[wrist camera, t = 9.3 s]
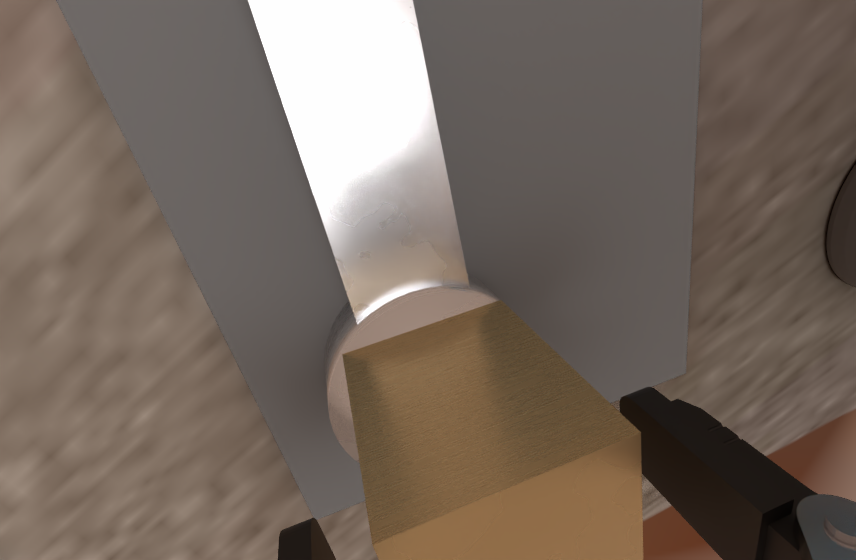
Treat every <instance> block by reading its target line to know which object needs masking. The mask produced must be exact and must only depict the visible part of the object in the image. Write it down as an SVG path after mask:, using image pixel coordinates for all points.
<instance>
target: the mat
mask: <svg viewBox="0 0 856 560" xmlns="http://www.w3.org/2000/svg"><path fill="white" fill-rule="evenodd" d="M56 1H57V3H58V5H59V7H60V9H61V11H62V13H63V15H64V17H65V19H66V21H67V23H68V25H69V27H70V29H71V31H72V33H73V35H74V37H75V39H76V41H77V43H78V45H79V47H80V49H81V51H82V53H83V55H84V57H85V59H86V61H87V63H88V65H89V67H90V69H91V71H92V73H93V75H94V77H95V79H96V81H97V83H98V85H99V87H100V89H101V91H102V93H103V95H104V97H105V99H106V101H107V103H108V105H109V107H110V109H111V111H112V113H113V115H114V117H115V119H116V121H117V123H118V125H119V127H120V129H121V131H122V133H123V135H124V137H125V139H126V141H127V143H128V145H129V147H130V149H131V151H132V153H133V155H134V157H135V160H136V162H137V164H138V166H139V168H140V170H141V172H142V174H143V176H144V178H145V180H146V182H147V184H148V186H149V188H150V190H151V192H152V194H153V196H154V198H155V200H156V202H157V204H158V206H159V208H160V210H161V212H162V214H163V216H164V218H165V220H166V222H167V224H168V226H169V228H170V230H171V232H172V234H173V236H174V238H175V240H176V242H177V244H178V246H179V248H180V250H181V252H182V254H183V256H184V258H185V260H186V262H187V264H188V266H189V268H190V270H191V272H192V274H193V276H194V278H195V280H196V282H197V284H198V286H199V288H200V290H201V292H202V294H203V296H204V298H205V300H206V302H207V304H208V306H209V308H210V310H211V312H212V314H213V316H214V318H215V320H216V322H217V324H218V326H219V328H220V330H221V332H222V334H223V336H224V338H225V340H226V342H227V344H228V346H229V348H230V350H231V352H232V354H233V356H234V358H235V360H236V362H237V364H238V366H239V368H240V370H241V372H242V374H243V376H244V379H245V381H246V383H247V385H248V387H249V389H250V391H251V393H252V395H253V397H254V399H255V401H256V403H257V405H258V407H259V409H260V411H261V413H262V415H263V417H264V419H265V421H266V423H267V425H268V427H269V429H270V431H271V433H272V435H273V437H274V439H275V441H276V443H277V445H278V447H279V449H280V451H281V453H282V455H283V457H284V459H285V461H286V463H287V465H288V467H289V469H290V471H291V473H292V475H293V477H294V479H295V481H296V483H297V485H298V487H299V489H300V491H301V493H302V495H303V497H304V499H305V501H306V503H307V505H308V507H309V509H310V511H311V513H312V515H313V517H314V518H315V519H316V520H318V519H320V518H323V517H325V516H328V515H330V514H333V513H335V512H338V511H340V510H343V509H345V508H348V507H350V506H353V505H355V504H358V503H360V502H363V501H365V494H364V488H363V481H362V475H361V469H360V463H359V462H357V461H356V460H354V459H353V458H352V457H351V456H350V455H349V454H348V453H347V452H346V451H345V450H344V448H343V447H342V446H341V444H340V443H339V441H338V439H337V438H336V436H335V434H334V432H333V429H332V425H331V422H330V417H329V410H328V400H327V388H326V375H325V348H326V342H327V339H328V336H329V333H330V329H331V327H332V325H333V323H334V321H335V319H336V317H337V316H338V314H339V313H340V311H341V310H342V308H343V307H344V306H345V305H346V304H347V302H348V301H349V299H348V296H347V293H346V290H345V287H344V284H343V281H342V278H341V275H340V272H339V269H338V266H337V263H336V260H335V257H334V254H333V251H332V248H331V245H330V242H329V239H328V236H327V233H326V230H325V227H324V224H323V221H322V218H321V215H320V212H319V209H318V206H317V204H316V201H315V198H314V195H313V192H312V189H311V186H310V183H309V180H308V177H307V174H306V171H305V168H304V165H303V162H302V159H301V156H300V153H299V150H298V147H297V144H296V141H295V138H294V135H293V132H292V129H291V126H290V123H289V120H288V117H287V114H286V111H285V108H284V106H283V103H282V100H281V97H280V94H279V91H278V88H277V85H276V82H275V79H274V76H273V73H272V70H271V67H270V64H269V61H268V58H267V55H266V52H265V49H264V46H263V43H262V40H261V37H260V34H259V31H258V28H257V25H256V22H255V19H254V16H253V13H252V10H251V8H250V5H249V2H248V0H56ZM413 4H414V9H415V14H416V19H417V24H418V29H419V34H420V39H421V44H422V49H423V54H424V59H425V64H426V69H427V74H428V79H429V84H430V89H431V94H432V99H433V104H434V109H435V115H436V120H437V125H438V130H439V135H440V140H441V145H442V150H443V155H444V160H445V165H446V170H447V175H448V180H449V185H450V190H451V195H452V200H453V205H454V210H455V215H456V220H457V225H458V230H459V235H460V241H461V246H462V251H463V256H464V261H465V266H466V271H467V273H468V274H470V275H472V276H473V277H475V278H476V279H478V280H479V281H481V282H482V283H483V284H484V285H485V286H486V287H487V288H489V289H490V290H491V291H492V292H493V293H494V294H495V295H496V296H497V297H498V298H499V299H500V300H502V301H503V302H504V303H505V304H506V305H507V306H508V307H509V308H510V309H511V310H512V311H513V312H514V313H515V314H516V315H517V316H519V317H520V318H521V319H522V320H523V321H524V322H525V323H526V324H527V325H528V326H529V327H530V328H531V329H532V330H533V331H534V332H535V333H536V334H538V335H539V336H540V337H541V338H542V339H543V340H544V341H545V342H546V343H547V344H548V345H549V346H550V347H551V348H552V349H553V350H554V351H555V352H557V353H558V354H559V355H560V356H561V357H562V358H563V359H564V360H565V361H566V362H567V363H568V364H569V365H570V366H571V367H572V368H573V369H574V370H576V371H577V372H578V373H579V374H580V375H581V376H582V377H583V378H584V379H585V380H586V381H587V382H588V383H589V384H590V385H591V386H592V387H593V388H595V389H596V390H597V391H598V392H599V393H600V394H601V395H602V396H603V397H604V398H605V399H606V400H607V401H608V402H609V403H612V402H615V401H617V400H620V399H621V397H623V396H625V395H628V394H630V393H633V392H635V391H638V390H640V389H643V388H646V387H653V386H655V385H658V384H660V383H663V382H665V381H668V380H670V379H673V378H675V377H678V376H680V375H683V374H685V373H686V361H687V338H688V316H689V294H690V271H691V249H692V227H693V204H694V182H695V160H696V137H697V115H698V93H699V71H700V48H701V26H702V4H703V0H413Z"/></svg>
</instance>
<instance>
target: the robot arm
mask: <svg viewBox="0 0 856 560" xmlns="http://www.w3.org/2000/svg"><path fill="white" fill-rule="evenodd" d="M620 413H621V414H622V415H623V416H624V417H625V418H626V419H627V420H628V421H629V422H630V423H631V424H633V425H634V426H635V427H636V428H637V429H638V430H639V431H640V432H641V466H642V474H643V475H644V476H645V477H646V478H647V479H648V480H649V481H650V482H651V484H652V485H653V486H654V487H655V488H656V489H657V490H658V491H659V492H660V493H661V494H662V495H663V496H664V497H665V498H666V500H667V501H668V502H669V503H670V504H671V505H672V506H673V507H674V508H675V509H676V510H677V511H678V512H679V513H680V514H681V515H682V517H683V518H684V519H685V520H686V521H687V522H688V523H689V524H690V525H691V526H692V527H693V528H694V529H695V530H696V531H697V533H698V534H699V535H700V536H701V537H702V538H703V539H704V540H705V541H706V542H707V543H708V544H709V545H710V546H711V547H712V548H713V550H714V551H715V552H716V553H717V554H718V555H719V556H720V557H721V558H722V559H723V560H856V502H854V501H851V500H848V499H845V498H842V497H838V496H833V495H825V494H817V493H815V492H813V491H812V490H810V489H809V488H807V487H806V486H805V485H803V484H802V483H800V482H799V481H798V480H797V479H795V478H794V477H793V476H791V475H790V474H789V473H787V472H786V471H785V470H783V469H782V468H781V467H779V466H778V465H776V464H775V463H774V462H772V461H771V460H770V459H768V458H767V457H766V456H764V455H763V454H762V453H760V452H759V451H758V450H756V449H755V448H754V447H752V446H751V445H750V444H748V443H747V442H746V441H744V440H743V439H742V440H740V439H739V437H738V436H737V435H736V434H735V433H733V432H732V431H731V430H729V429H728V428H727V427H723V426H722V424H721V423H720V422H719V421H717V420H716V419H715V418H713V417H712V416H711V415H709V414H708V413H707V412H705V411H704V410H702V409H701V408H698V407H696V406H694V405H691V404H689V403H686V402H684V401H681V400H679V399H676V400H674V401H670V400H668V399H667V398H666V397H665V396H663V395H662V394H661V393H659V392H658V391H657V390H655V389H654V388H652V387H646V388H643V389H640V390H638V391H635V392H633V393H630V394H628V395H625V396H623V397H621V399H620ZM278 560H336V559H335V556H334V554H333V552H332V550H331V548H330V546H329V544H328V542H327V540H326V538H325V536H324V534H323V532H322V530H321V528H320V526H319V524H318V522H317V520H316V519H315V518H311V519H309V520H306V521H304V522H301V523H299V524H296V525H294V526H291V527H289V528H286V529H284V530H282V531H281V533H280V536H279V549H278Z"/></svg>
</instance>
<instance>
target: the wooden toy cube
mask: <svg viewBox="0 0 856 560" xmlns="http://www.w3.org/2000/svg"><path fill="white" fill-rule="evenodd" d="M342 356H343V362H344V368H345V375H346V381H347V387H348V393H349V400H350V406H351V412H352V419H353V425H354V431H355V437H356V444H357V450H358V456H359V463H360V469H361V475H362V481H363V488H364V494H365V500H366V507H367V513H368V519H369V525H370V532H371V538H372V544H373V547H374V549H375V552H376V554H377V556H378V558H379V560H643V522H642V466H641V432H640V431H639V430H638V429H637V428H636V427H635V426H634V425H633V424H631V423H630V422H629V421H628V420H627V419H626V418H625V417H624V416H623V415H622V414H621V413H620V412H619V411H618V410H617V409H616V408H615V407H614V406H612V405H611V404H610V403H609V402H608V401H607V400H606V399H605V398H604V397H603V396H602V395H601V394H600V393H599V392H598V391H597V390H596V389H595V388H593V387H592V386H591V385H590V384H589V383H588V382H587V381H586V380H585V379H584V378H583V377H582V376H581V375H580V374H579V373H578V372H577V371H576V370H574V369H573V368H572V367H571V366H570V365H569V364H568V363H567V362H566V361H565V360H564V359H563V358H562V357H561V356H560V355H559V354H558V353H557V352H555V351H554V350H553V349H552V348H551V347H550V346H549V345H548V344H547V343H546V342H545V341H544V340H543V339H542V338H541V337H540V336H539V335H538V334H536V333H535V332H534V331H533V330H532V329H531V328H530V327H529V326H528V325H527V324H526V323H525V322H524V321H523V320H522V319H521V318H520V317H519V316H517V315H516V314H515V313H514V312H513V311H512V310H511V309H510V308H509V307H508V306H507V305H506V304H505V303H504V302H503V301H502V300H499V301H496V302H493V303H490V304H487V305H484V306H481V307H478V308H475V309H473V310H470V311H467V312H464V313H461V314H458V315H455V316H452V317H449V318H446V319H443V320H441V321H438V322H435V323H432V324H429V325H426V326H423V327H420V328H417V329H414V330H411V331H409V332H406V333H403V334H400V335H397V336H394V337H391V338H388V339H385V340H382V341H379V342H376V343H374V344H371V345H368V346H365V347H362V348H359V349H356V350H353V351H350V352H347V353H344V354H342Z"/></svg>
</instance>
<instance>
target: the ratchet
mask: <svg viewBox="0 0 856 560" xmlns="http://www.w3.org/2000/svg"><path fill="white" fill-rule="evenodd" d="M248 2H249V5H250V8H251V10H252V13H253V16H254V19H255V22H256V25H257V28H258V31H259V34H260V37H261V40H262V43H263V46H264V49H265V52H266V55H267V58H268V61H269V64H270V67H271V70H272V73H273V76H274V79H275V82H276V85H277V88H278V91H279V94H280V97H281V100H282V103H283V106H284V108H285V111H286V114H287V117H288V120H289V123H290V126H291V129H292V132H293V135H294V138H295V141H296V144H297V147H298V150H299V153H300V156H301V159H302V162H303V165H304V168H305V171H306V174H307V177H308V180H309V183H310V186H311V189H312V192H313V195H314V198H315V201H316V204H317V206H318V209H319V212H320V215H321V218H322V221H323V224H324V227H325V230H326V233H327V236H328V239H329V242H330V245H331V248H332V251H333V254H334V257H335V260H336V263H337V266H338V269H339V272H340V275H341V278H342V281H343V284H344V287H345V290H346V293H347V296H348V299H349V301H348V302H347V304H346V305H345V306H344V307H343V308H342V310H341V311H340V313H339V314H338V316H337V317H336V319H335V321H334V323H333V325H332V327H331V329H330V333H329V336H328V339H327V342H326V348H325V375H326V388H327V400H328V410H329V417H330V422H331V425H332V429H333V432H334V434H335V436H336V438H337V439H338V441H339V443H340V444H341V446H342V447H343V448H344V450H345V451H346V452H347V453H348V454H349V455H350V456H351V457H352V458H353V459H354V460H356V461H357V462H359V456H358V450H357V444H356V437H355V431H354V425H353V419H352V412H351V406H350V400H349V393H348V387H347V381H346V375H345V368H344V362H343V356H342V354H344V353H347V352H350V351H353V350H356V349H359V348H362V347H365V346H368V345H371V344H374V343H376V342H379V341H382V340H385V339H388V338H391V337H394V336H397V335H400V334H403V333H406V332H409V331H411V330H414V329H417V328H420V327H423V326H426V325H429V324H432V323H435V322H438V321H441V320H443V319H446V318H449V317H452V316H455V315H458V314H461V313H464V312H467V311H470V310H473V309H475V308H478V307H481V306H484V305H487V304H490V303H493V302H496V301H499V300H500V299H499V298H498V297H497V296H496V295H495V294H494V293H493V292H492V291H491V290H490V289H489V288H487V287H486V286H485V285H484V284H483V283H482V282H481V281H479V280H478V279H476V278H475V277H473V276H472V275H470V274H468V273H467V271H466V266H465V261H464V256H463V251H462V246H461V241H460V235H459V230H458V225H457V220H456V215H455V210H454V205H453V200H452V195H451V190H450V185H449V180H448V175H447V170H446V165H445V160H444V155H443V150H442V145H441V140H440V135H439V130H438V125H437V120H436V115H435V109H434V104H433V99H432V94H431V89H430V84H429V79H428V74H427V69H426V64H425V59H424V54H423V49H422V44H421V39H420V34H419V29H418V24H417V19H416V14H415V9H414V4H413V0H248Z"/></svg>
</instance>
